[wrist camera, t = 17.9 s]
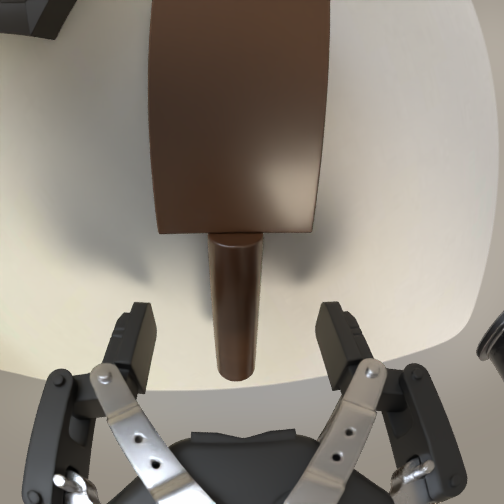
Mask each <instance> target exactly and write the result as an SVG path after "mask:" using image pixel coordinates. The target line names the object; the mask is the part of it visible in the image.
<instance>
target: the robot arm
mask: <svg viewBox="0 0 504 504" xmlns="http://www.w3.org/2000/svg"><path fill="white" fill-rule="evenodd" d="M315 333H316V338H317V341H318V344H319V348H320V351H321V354H322V357H323V361H324V364H325V367H326V370H327V374H328V377H329V380H330V384H331V387H332V391H335V390H341V393H342V395H341V397H340V399H339V401H338V403H337V405H336V407H335V409H334V411H333V413H332V415H331V417H330V419H329V421H328V422H327V424H326V426H325V428H324V429H323V431H322V433H321V434H320V436H319V437H318V439H317V441H316V440H314V439H312V438H310V437H306V436H303V435H297V434H296V431H295V429H287V430H276V431H269V432H265V433H262V434H258V435H255V436H251V437H247V438H239V437H234V436H230V435H225V434H221V433H208V432H207V433H206V432H191V438H187V439H184V440H180V441H178V442H176V443H174V444H172V445H171V446H169V447H167V445H166V444H165V443H164V441H163V440H162V438H161V437H160V436H159V434H158V433H157V431H156V430H155V428H154V427H153V425H152V424H151V422H150V421H149V419H148V418H147V416H146V415H145V413H144V412H143V410H142V409H141V407H140V405H139V404H138V402H137V401H136V399H137V394H138V393H139V394H145V391H146V386H147V380H148V375H149V370H150V365H151V360H152V355H153V351H154V346H155V341H156V336H157V328H156V323H155V319H154V315H153V311H152V307H151V304H150V303H143V302H134V304H133V306H132V309H131V312H130V313H125V312H124V313H123V314H122V315H121V317H120V318H119V319H118V320H117V322H116V325H115V328H114V330H113V333H112V337H111V338H110V341H109V344H108V347H107V350H106V353H105V356H104V359H103V361H102V363H101V364H99V365H97V366H95V367H94V368H93V369H92V371H91V373H88V374H82V375H75V376H72V374H71V373H70V372H69V371H68V370H66V369H57V370H55V371H53V372H52V373H51V374H50V375H49V376H48V378H47V381H46V384H45V387H44V390H43V394H42V397H41V400H40V404H39V407H38V410H37V414H36V418H35V422H34V426H33V430H32V434H31V438H30V443H29V447H28V453H27V458H26V464H25V470H24V477H23V484H22V499H23V502H24V504H101V503H100V501H99V499H98V492H97V489H96V487H95V485H94V484H93V483H92V482H91V481H89V480H88V475H89V465H90V456H91V448H92V441H93V434H94V427H95V421H96V418H98V417H107V423H108V425H109V427H110V429H111V431H112V433H113V435H114V436H115V438H116V440H117V442H118V444H119V445H120V447H121V449H122V451H123V452H124V454H125V456H126V457H127V459H128V460H129V462H130V463H131V465H132V467H133V468H134V470H135V471H136V473H137V474H138V476H137V477H136V478H135V479H134V480H133V481H132V482H131V483H130V484H129V485H128V486H126V487H125V488H124V489H123V490H122V491H121V492H120V493H119V494H117V496H115V497H114V498H113V499H112V500H111V501H110V502H108V503H107V504H438V503H440V502H443V501H445V500H448V499H450V498H453V497H455V496H457V495H459V494H460V493H461V492H462V491H463V490H464V489H465V487H466V484H467V474H466V470H465V467H464V464H463V460H462V457H461V454H460V451H459V448H458V445H457V442H456V439H455V437H454V434H453V431H452V428H451V426H450V423H449V420H448V418H447V415H446V413H445V410H444V408H443V405H442V403H441V400H440V398H439V396H438V393H437V391H436V389H435V386H434V384H433V382H432V380H431V377H430V375H429V373H428V371H427V370H426V369H425V368H424V367H423V366H422V365H419V364H416V363H412V364H409V365H407V366H406V367H405V369H404V370H396V369H388V368H386V367H385V365H384V364H383V363H382V362H380V361H379V360H376V359H374V358H373V355H372V353H371V351H370V349H369V347H368V344H367V342H366V340H365V338H364V336H363V335H362V331H361V329H360V328H359V325H358V323H357V321H356V319H355V318H354V317H353V316H352V315H351V314H350V313H349V312H348V311H345V312H343V310H342V308H341V306H340V304H339V302H337V301H336V302H323V303H322V304H321V307H320V311H319V315H318V318H317V322H316V326H315ZM486 355H487V356H488V358H490V360H491V361H492V363H493V364H494V366H495V368H496V369H497V371H498V373H499V375H500V376H501V378H502V380H503V381H504V326H503V327H502V328H501V329H500V331H499V332H498V333H497V334H496V336H495V337H494V338H493V340H492V341H491V343H490V345H489V346H488V348H487V351H486ZM376 411H382V414H383V418H384V422H385V425H386V429H387V432H388V436H389V440H390V443H391V447H392V451H393V455H394V459H395V463H396V467H397V470H396V471H395V472H394V473H393V475H392V478H391V489H390V492H389V493H388V492H386V491H385V490H384V489H382V488H380V487H379V486H377V485H376V484H375V483H373V482H372V481H370V480H369V479H367V478H366V477H365V476H363V475H362V474H360V473H359V472H357V471H356V470H355V469H354V467H355V465H356V462H357V461H358V458H359V456H360V454H361V452H362V450H363V447H364V445H365V443H366V440H367V438H368V435H369V433H370V431H371V428H372V426H373V423H374V421H375V418H376V415H377V412H376Z"/></svg>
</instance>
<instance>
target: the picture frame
mask: <svg viewBox="0 0 504 504" xmlns="http://www.w3.org/2000/svg"><path fill="white" fill-rule="evenodd" d="M76 1H77V0H0V33H7V34H17V35H25V36H32V37H39V38H45V39H51V40H55V39H56V37H57V35H58V33H59V31H60V29H61V27H62V25H63V23H64V21H65V20H66V18H67V16H68V14H69V12H70V11H71V9H72V7H73V6H74V4H75V2H76Z"/></svg>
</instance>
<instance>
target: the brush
mask: <svg viewBox="0 0 504 504" xmlns="http://www.w3.org/2000/svg"><path fill="white" fill-rule="evenodd" d="M329 45H330V0H152V8H151V19H150V33H149V53H148V121H149V143H150V159H151V172H152V183H153V193H154V203H155V212H156V220H157V228H158V233H159V234H188V233H208V235H207V236H208V256H209V272H210V287H211V301H212V314H213V326H214V337H215V348H216V358H217V368H218V371H219V373H220V374H221V375H222V376H223V377H224V378H225V379H227V380H230V381H242V380H245V379H247V378H249V377H250V376H251V375H252V374H253V372H254V369H255V358H256V344H257V330H258V316H259V301H260V286H261V271H262V255H263V239H264V235H263V233H310V232H312V229H313V222H314V215H315V208H316V200H317V192H318V184H319V176H320V167H321V158H322V148H323V138H324V127H325V115H326V102H327V87H328V69H329Z"/></svg>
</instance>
